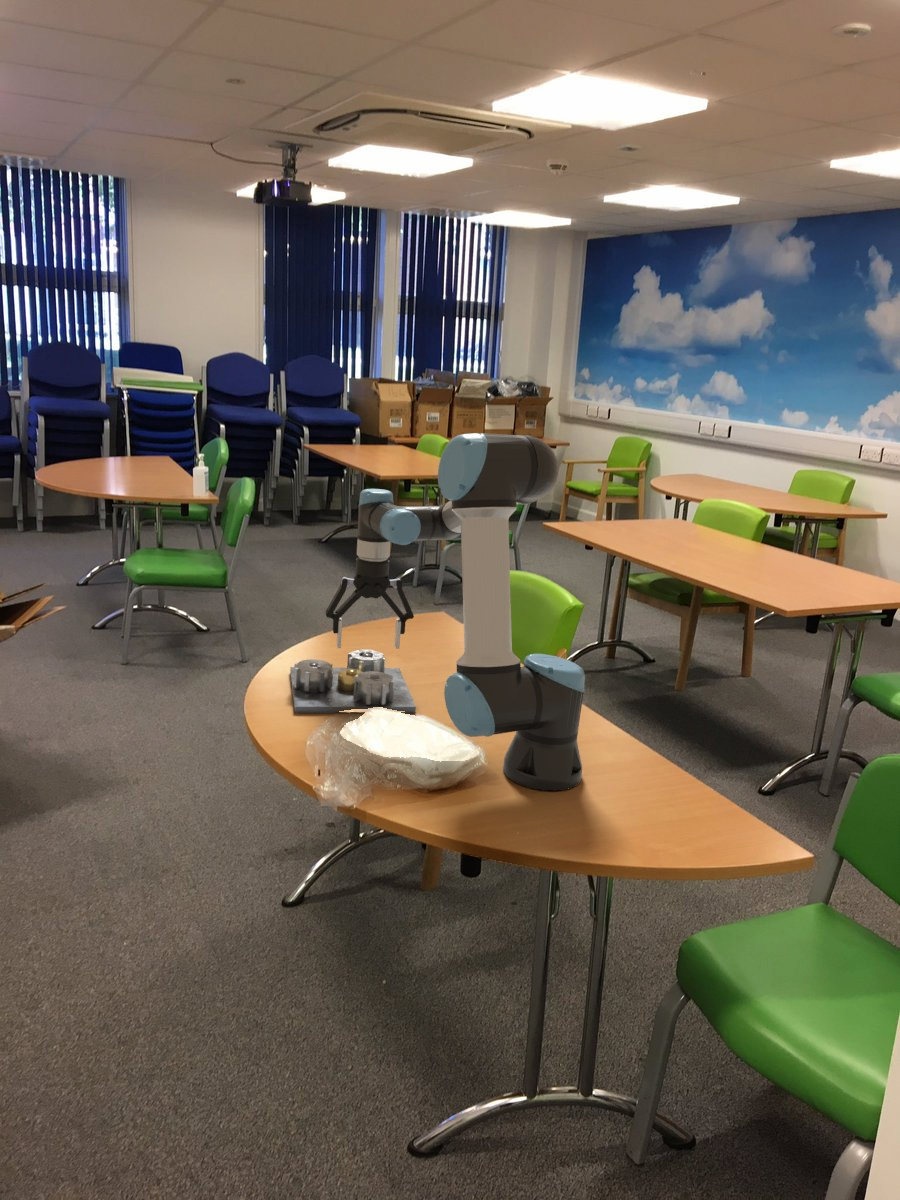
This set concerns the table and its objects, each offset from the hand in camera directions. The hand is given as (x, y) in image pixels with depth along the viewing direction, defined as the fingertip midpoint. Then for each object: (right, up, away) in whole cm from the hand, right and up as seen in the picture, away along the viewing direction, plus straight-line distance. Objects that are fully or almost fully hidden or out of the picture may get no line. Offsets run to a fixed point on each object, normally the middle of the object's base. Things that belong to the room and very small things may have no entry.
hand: (368, 646), depth 216 cm
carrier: (-4, -10, -5) cm, 12 cm away
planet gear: (-1, -7, +2) cm, 7 cm away
